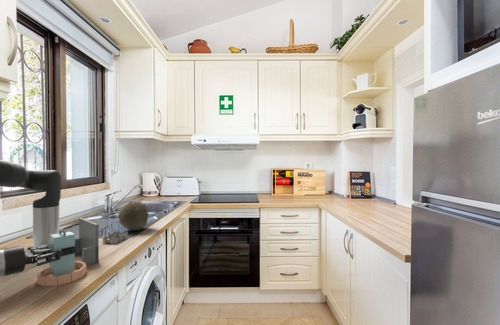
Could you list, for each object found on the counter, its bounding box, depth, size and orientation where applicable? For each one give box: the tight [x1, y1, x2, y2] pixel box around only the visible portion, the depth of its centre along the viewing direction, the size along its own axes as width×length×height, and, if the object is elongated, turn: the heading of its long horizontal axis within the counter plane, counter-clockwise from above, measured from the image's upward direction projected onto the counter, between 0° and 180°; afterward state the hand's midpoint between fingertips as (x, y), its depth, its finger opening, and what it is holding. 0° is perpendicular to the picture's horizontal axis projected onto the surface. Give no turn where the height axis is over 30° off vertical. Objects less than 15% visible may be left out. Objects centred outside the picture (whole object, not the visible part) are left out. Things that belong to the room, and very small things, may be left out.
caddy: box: [48, 228, 76, 276], centre depth 83 cm, size 6×5×14 cm
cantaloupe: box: [117, 202, 149, 231], centre depth 138 cm, size 14×14×15 cm
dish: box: [36, 260, 87, 287], centre depth 83 cm, size 13×13×2 cm
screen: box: [75, 217, 100, 267], centre depth 98 cm, size 5×17×14 cm, turn 51°
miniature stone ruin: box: [100, 230, 128, 245], centre depth 121 cm, size 11×8×4 cm
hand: (71, 247), depth 85 cm, fingers closed on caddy, 5 cm apart
